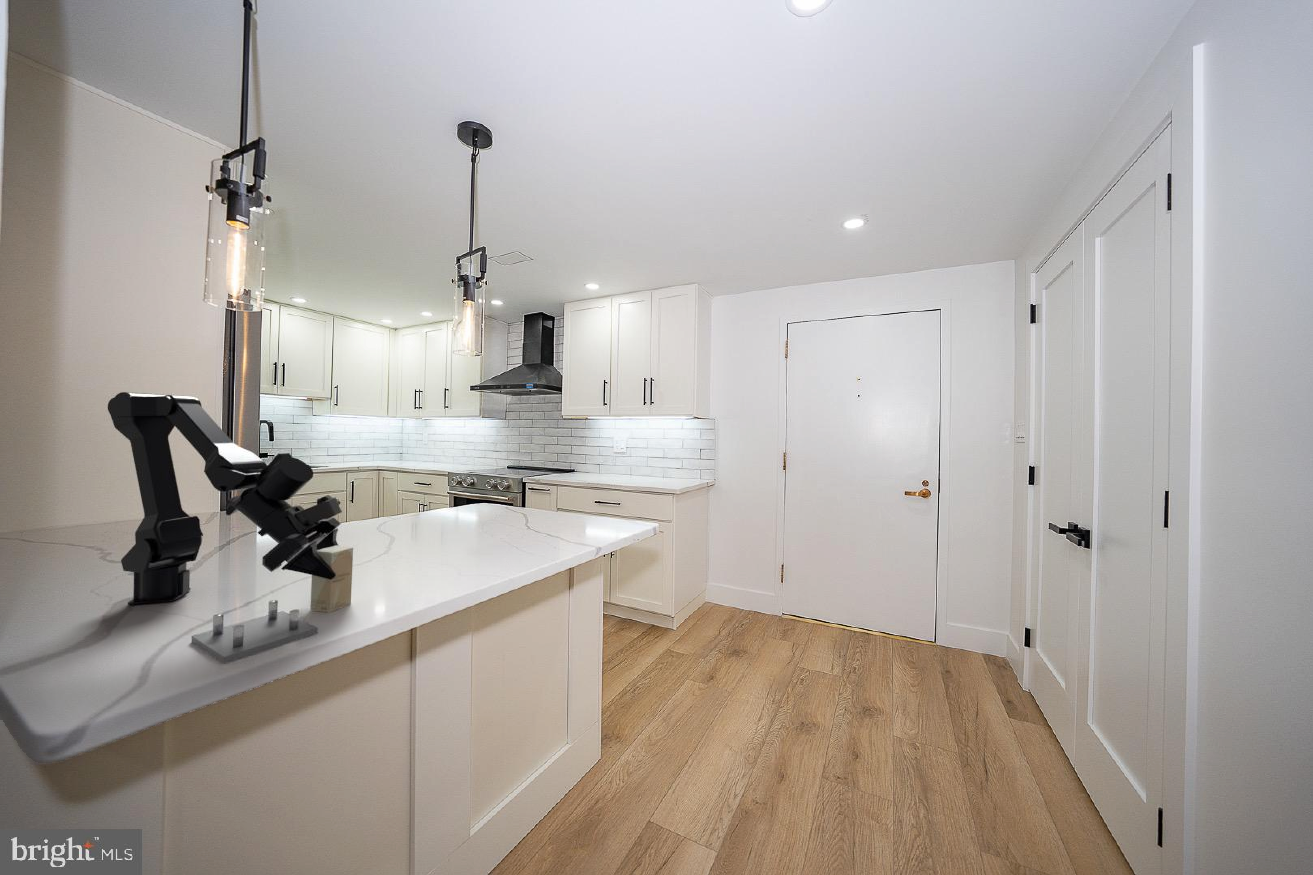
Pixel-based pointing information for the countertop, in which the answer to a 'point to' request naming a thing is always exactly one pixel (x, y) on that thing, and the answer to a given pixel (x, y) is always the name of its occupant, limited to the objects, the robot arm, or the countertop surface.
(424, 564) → the countertop surface
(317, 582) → the box
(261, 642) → the pin tray
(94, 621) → the countertop surface
